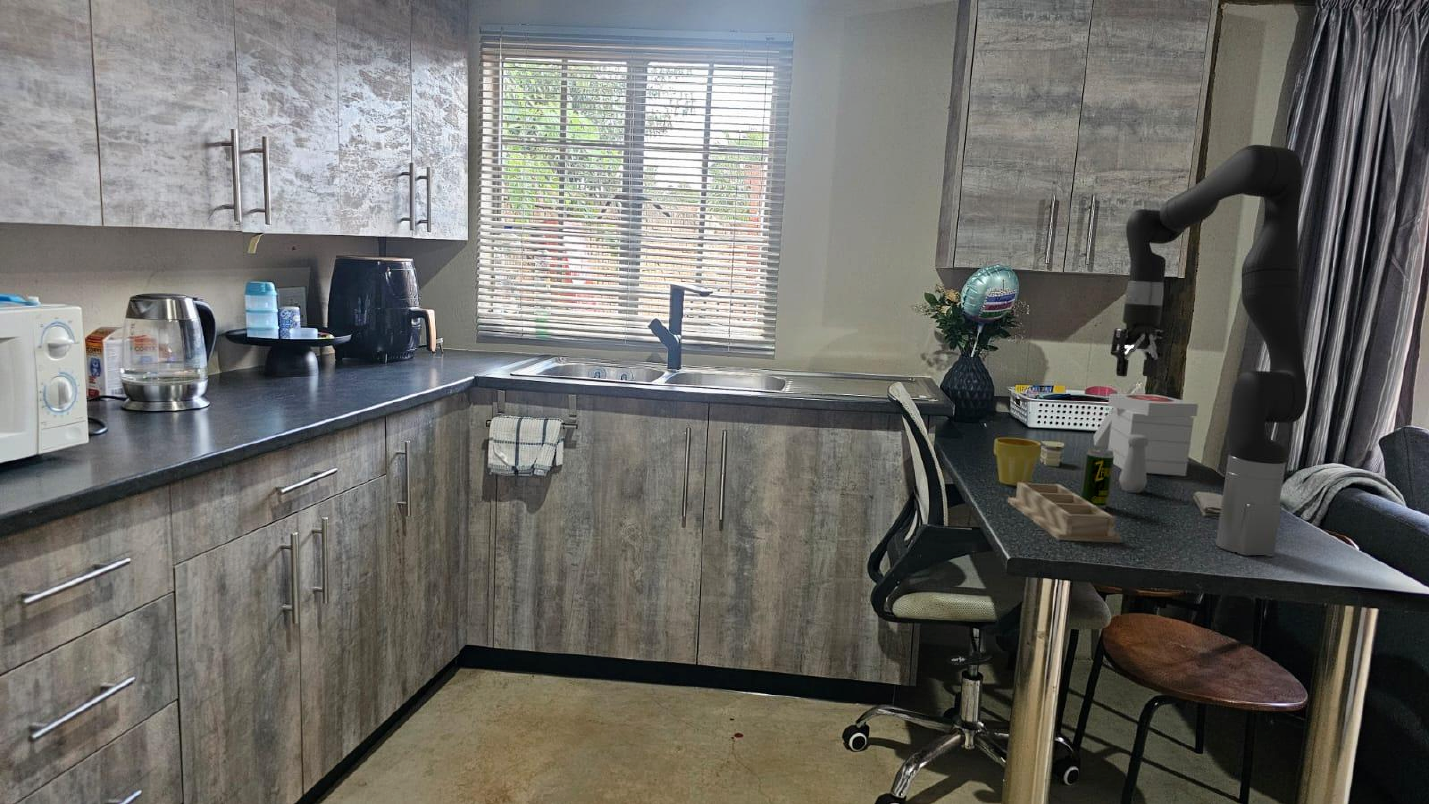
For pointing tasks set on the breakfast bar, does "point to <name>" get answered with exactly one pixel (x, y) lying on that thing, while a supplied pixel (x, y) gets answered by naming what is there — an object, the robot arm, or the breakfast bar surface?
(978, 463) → the breakfast bar surface
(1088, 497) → the beer can
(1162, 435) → the pizza boxes
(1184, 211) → the robot arm
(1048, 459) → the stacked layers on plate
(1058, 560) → the breakfast bar surface
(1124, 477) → the salt shaker
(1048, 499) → the wooden compartment organizer
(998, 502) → the breakfast bar surface
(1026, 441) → the plant pot
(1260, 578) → the breakfast bar surface
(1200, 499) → the washcloth
